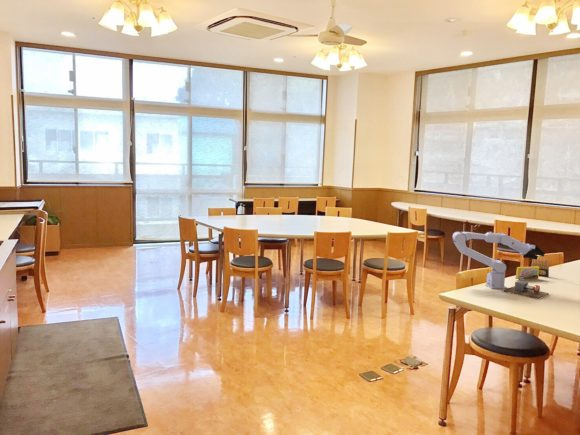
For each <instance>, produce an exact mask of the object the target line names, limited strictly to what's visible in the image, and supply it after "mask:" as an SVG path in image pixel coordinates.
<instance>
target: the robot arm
mask: <svg viewBox="0 0 580 435" xmlns="http://www.w3.org/2000/svg"><path fill="white" fill-rule="evenodd" d="M471 239H474V240H484V241H485V242H486V243H492V244H493V243H494V244H501V245H504V246H508V247H509V248H510V249H513V250H514V251H516V252H518V254H519V255H521V256H522V257H523V259H524V258H525V259H532V260H533V259H534V260H537V261H538V259H539V256H540V257H544V256H545V253H546V252H544V251H543V250H542V249H541V248H540V247H539V246H538V245H537V244H530V243H526V242H523V241H520V240H518V239H516V238H513V237H512V236H510V235H508V234H505V233H504V232H503V233H502V232H498V233H497V232H493V231H487V232H486V233H480V232H479V233H477V232H471V231H455V232H453V233H452V242H453V244H454V245H455V247H456V249H457V250H458V251H459V253H460V254H463V255H465V256H466V257H469V258H471V259H473V260H476V261H477V262H480V263H482V264H483V265H486V266H488V267H490V268H491V269H492V270H491V272H488V273H487V274H486V284H485V286H486V285H487V287H488V286H489V287H488V288H490V287H491V289H507V288H508V287H507V286H505V280H506V271H507V264H505V263H504V262H502V260H500V259H494V258H492V257H489V256H487V255H485V254H482V253H480V252H478V251H477V250H474V249H472V248H469V247H467V244H466V241H469V240H471Z"/></svg>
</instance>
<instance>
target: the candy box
mask: <svg viewBox="0 0 580 435" xmlns="http://www.w3.org/2000/svg"><path fill="white" fill-rule="evenodd" d="M539 277H540V276H539V267H538V266H536V267H531V266H518V267H517V266H516V273H515V279H532V280H539Z"/></svg>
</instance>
